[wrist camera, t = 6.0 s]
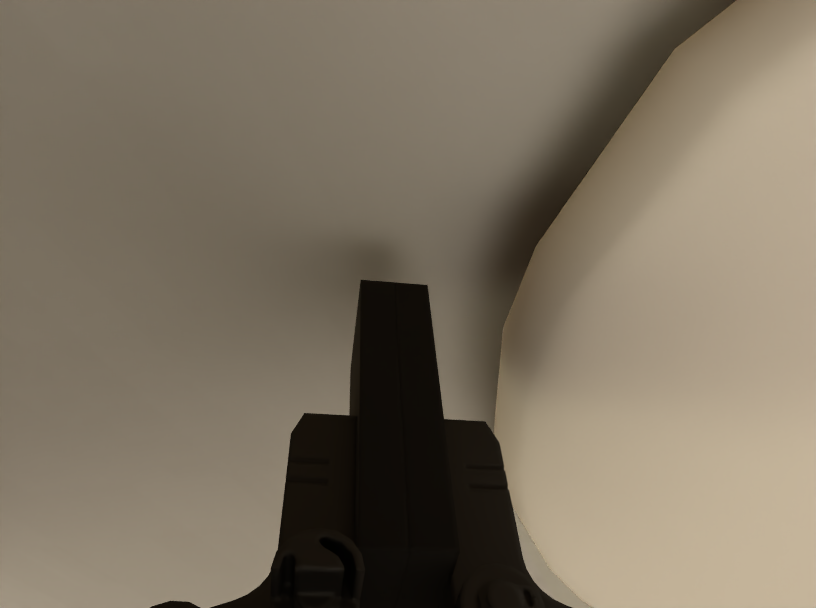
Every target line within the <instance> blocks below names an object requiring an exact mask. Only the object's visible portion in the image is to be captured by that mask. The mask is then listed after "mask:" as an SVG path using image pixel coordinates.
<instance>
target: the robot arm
mask: <svg viewBox="0 0 816 608" xmlns="http://www.w3.org/2000/svg"><path fill="white" fill-rule="evenodd" d="M150 608H200V607H198V606H196V605H194V604H192V603H190V602H181V601H169V602H165V603H162V604H159V605H155V606H152V607H150ZM211 608H572V607H569V606H566V605H564V604H562V603H560V602H558V601H556V600H554V599H552V598H551V597H550V596H548V595H547V594H546V593H544V592H543V591H542V590H541V589H540V588H539V587H538V586H537V584H536V583H535V582H534V581H533V580H532V578H531V576H530V575H529V573H528V571H527V569H526V566H525V563H524V560H523V556H522V552H521V547H520V542H519V537H518V532H517V527H516V522H515V517H514V512H513V507H512V502H511V497H510V492H509V490H508V482H507V477H506V472H505V471H504V463H503V458H502V453H501V448H500V443H499V441H498V440H497V438H496V437H495V435H494V434H493V432H492V431H491V429H490V428H489V427H488V425H487V424H486V422H484V421H466V420H448V419H444V416H443V408H442V400H441V392H440V384H439V376H438V367H437V359H436V351H435V343H434V335H433V327H432V318H431V310H430V302H429V294H428V286H427V285H420V284H408V283H395V282H383V281H370V280H361V282H360V291H359V300H358V309H357V317H356V326H355V335H354V344H353V353H352V361H351V375H350V415H349V416H348V415H329V414H311V413H304V415H303V416H302V418H301V419H300V421H299V422H298V424H297V425H296V427H295V428H294V430H293V431H292V433H291V439H290V447H289V456H288V465H287V474H286V483H285V491H284V500H283V509H282V518H281V526H280V535H279V544H278V550H277V551H276V554H275V557H274V560H273V563H272V566H271V572H270V574H269V576H268V577H267V578H266V579H265V580H264V581H263V582H262V584H261V585H260V586H259V587H257V588H256V589H255V590H253V591H252V592H250V593H249V594H248V595H245V596H243V597H241V598H238V599H236V600H233V601H230V602H227V603H224V604H220V605H217V606H214V607H211Z"/></svg>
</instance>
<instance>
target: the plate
mask: <svg viewBox="0 0 816 608" xmlns="http://www.w3.org/2000/svg"><path fill="white" fill-rule="evenodd" d="M494 435H495V437H496V438H497V440H498V441H499V443H500V448H501V453H502V458H503V463H504V471H505V472H506V477H507V482H508V490H509V492H510V497H511V502H512V506H513V508H514V510H515V511H516V513H517V515H518V517H519V518H520V520H521V522H522V524H523V525H524V527H525V529H526V530H527V532H528V534H529V535H530V537H531V539H532V540H533V542H534V544H535V545H536V547H537V549H538V550H539V552H540V554H541V555H542V557H543V559H544V560H545V562H546V564H547V565H548V567H549V569H550V570H551V571H552V572H553V573H554V574H555V575H556V576H557V577H558V578H559V579H560V580H561V581H562V582H563V583H564V584H565V585H566V586H567V587H568V588H569V589H570V590H571V591H572V592H573V593H574V594H575V595H577V596H578V597H579V598H580V599H581V600H582V601H583V602H585V603H587V604H588V605H590V606H591V607H593V608H816V0H736V1H735V2H734V3H732V4H731V5H730V6H729V7H727V8H726V9H725V10H724V11H722V12H721V13H720V14H718V15H717V16H716V17H715V18H713V19H712V20H711V21H710V22H708V23H707V24H706V25H705V26H703V27H702V28H701V29H699V30H698V31H697V32H696V33H694V34H693V35H692V36H691V37H689V38H688V39H687V40H685V41H684V42H683V43H682V44H680V45H679V46H678V47H677V48H675V49H674V50H673V52H672V53H671V55H670V56H669V57H668V59H667V60H666V62H665V63H664V65H663V66H662V67H661V69H660V70H659V72H658V73H657V75H656V76H655V77H654V79H653V80H652V82H651V83H650V85H649V86H648V87H647V89H646V90H645V92H644V93H643V94H642V96H641V97H640V99H639V100H638V102H637V103H636V104H635V106H634V107H633V109H632V110H631V112H630V113H629V114H628V116H627V117H626V119H625V120H624V121H623V123H622V124H621V126H620V127H619V129H618V130H617V131H616V133H615V134H614V136H613V137H612V139H611V140H610V141H609V143H608V144H607V146H606V147H605V149H604V150H603V151H602V153H601V154H600V156H599V157H598V158H597V160H596V161H595V163H594V164H593V166H592V167H591V168H590V170H589V171H588V173H587V174H586V176H585V177H584V178H583V180H582V181H581V183H580V184H579V186H578V187H577V188H576V190H575V191H574V193H573V194H572V195H571V197H570V198H569V200H568V201H567V203H566V204H565V205H564V207H563V208H562V210H561V211H560V213H559V214H558V215H557V217H556V218H555V220H554V221H553V223H552V224H551V225H550V227H549V228H548V230H547V231H546V232H545V234H544V235H543V237H542V238H541V240H540V241H539V242H538V244H537V245H536V247H535V250H534V252H533V255H532V257H531V260H530V262H529V265H528V267H527V270H526V272H525V274H524V277H523V279H522V282H521V284H520V287H519V289H518V292H517V294H516V297H515V299H514V302H513V304H512V307H511V309H510V312H509V314H508V317H507V319H506V322H505V324H504V327H503V335H502V345H501V356H500V367H499V378H498V388H497V399H496V410H495V422H494Z"/></svg>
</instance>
